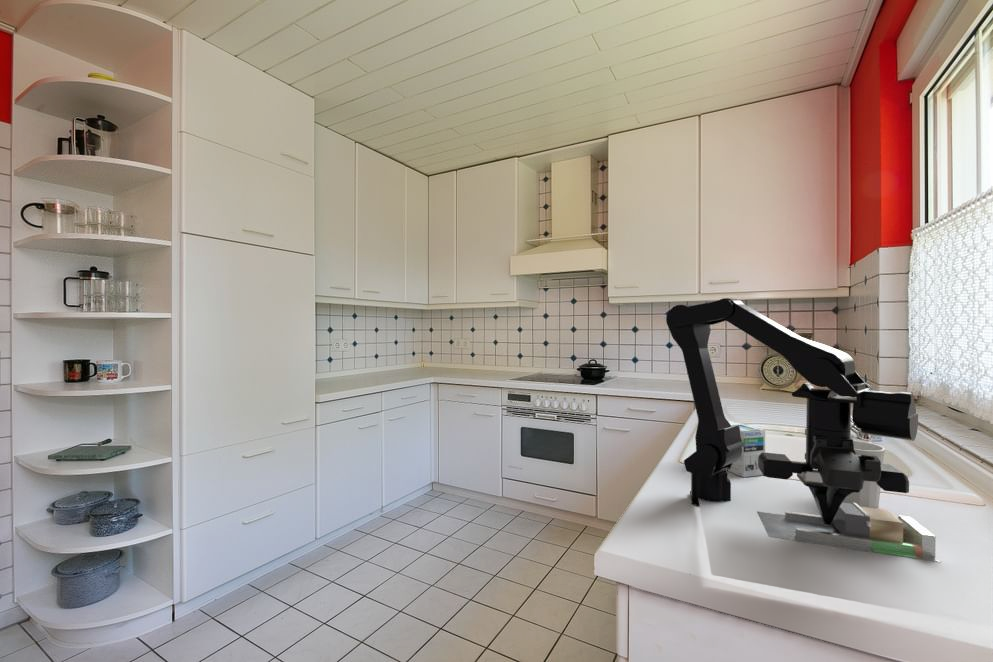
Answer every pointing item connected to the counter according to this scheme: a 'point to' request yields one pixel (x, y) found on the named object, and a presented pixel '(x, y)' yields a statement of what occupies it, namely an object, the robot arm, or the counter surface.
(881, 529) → the block
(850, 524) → the plunger
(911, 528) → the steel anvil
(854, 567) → the counter surface
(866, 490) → the cup
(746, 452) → the light bulb box
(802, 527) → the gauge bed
